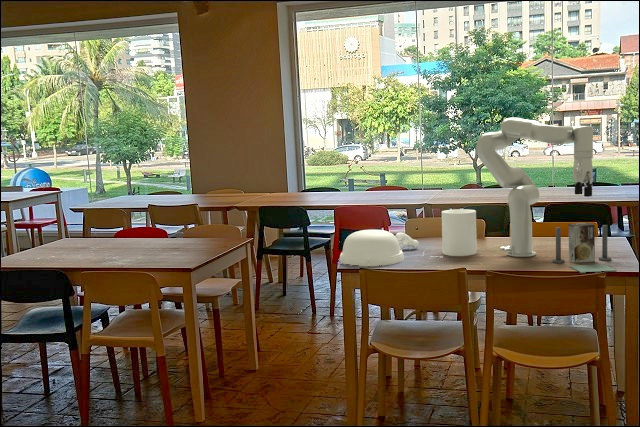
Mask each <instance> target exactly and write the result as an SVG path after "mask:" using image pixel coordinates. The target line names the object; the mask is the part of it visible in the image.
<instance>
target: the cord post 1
mask: <svg viewBox="0 0 640 427" xmlns="http://www.w3.org/2000/svg"><path fill="white" fill-rule="evenodd" d="M561 230H562V228H561V227H558V226H557V227H555V258H552V260H551V261H552V263H553V264H564V263H565V261H566V260H565V259H564V258H562V250H561V248H562V241H561V240H562V238H561V237H562V234H561V232H562V231H561Z"/></svg>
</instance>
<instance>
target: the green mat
mask: <svg viewBox="0 0 640 427" xmlns="http://www.w3.org/2000/svg"><path fill="white" fill-rule="evenodd" d="M569 268H571V269H573V270H574V269H575V270H574V271H576V270H577V271H576V272H578V271H579V272H578V273H580V274H587V273H586V272H595V273H602V272H601V271H615V272H617V269H615V268H613V267H611V266H608V265H606V264H605V263H604V264H601V263H600V264H599V263H598V264H581V265H569Z"/></svg>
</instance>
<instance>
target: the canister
mask: <svg viewBox="0 0 640 427" xmlns="http://www.w3.org/2000/svg"><path fill="white" fill-rule="evenodd" d="M441 240H442V241H441V244H442V255H445V256H450V257H466V256H467V257H469V256H474V255H476V254H477V253H478V252H477V251H478V250H477V249H478V245H477V242H478V239H477V210H475V209H469V208H468V209H466V208H465V209H464V208H462V209H461V208H460V209H459V208H458V209H455V208H454V209H446V210H442V211H441Z"/></svg>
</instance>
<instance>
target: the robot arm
mask: <svg viewBox="0 0 640 427" xmlns="http://www.w3.org/2000/svg"><path fill="white" fill-rule="evenodd" d="M518 139H524V140H525V139H526V140H529V141H530V140H531V141H535V142H540V143H541V142H542V143H547V144H553V145H566V144H572V143H573V167H572V168H573V169H572V180H573V181H574V194H575V195H582V194H583V196H584V197H586V198H589V197H593V183H594V182H593V181H594V176H593V175H594V174H593V173H594V172H593V170H594V169H593V159H594V129H593V126H591V125H578V126H572V125H562V126H559V125H558V126H556V125H550V124H549V125H548V124H543V123H540V121H538V120H534V119H533V120H532V119H525V118H523V117H508V118H505V119H504V120H502V122H501V123H500V130H498V131H492V132H491V131H490V132H486V133H483V134H481V135H480V136H479V138H478V140H477V142H476V147H475V149H476V154H477V156H478V159H479V160H480V161H481V163H482V164H483V166H484V167H486V169H487V170H488V172H489V173H490V174H491V176H492V177H493V178H494V180H495V181H496V182H497V184H498V185H499V186H500V187H501V188H503V189H510V188H512V189H511V190H510V191H509V193H508V195H507V201H508V202H507V204H508V208H509V222H510V223H509V224H510V225H509V227H510V244H508V245H507V246H500V247H499V249H500V250H499V251H500V252H507V253H506V254H507V255H508V256H511V257H516V258H518V257H519V258H527V257H534V256H536V254H537V252H536V251H534V250H533V220H532V219H533V217H532V210H531V206H532V205H534V204H537V202H538V201H539V199H540V197H541V196H540V195H541V194H540V191H539V188H538V187H537V185H536V183H535V182H533V180H532V179H531V178H530V176H529V175H528V174H527V173H526V171H525V170H523V169H522V167H519V166H510V165H509V163H508V162H506V160H505V159H504V157H502V156H501V155H500V154H499V153H498V152H497V151H499V150H504V149H505V148H507V147H509V146H510V145H512V144H513V143H515V141H517V140H518ZM583 185H584V187H583Z"/></svg>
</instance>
